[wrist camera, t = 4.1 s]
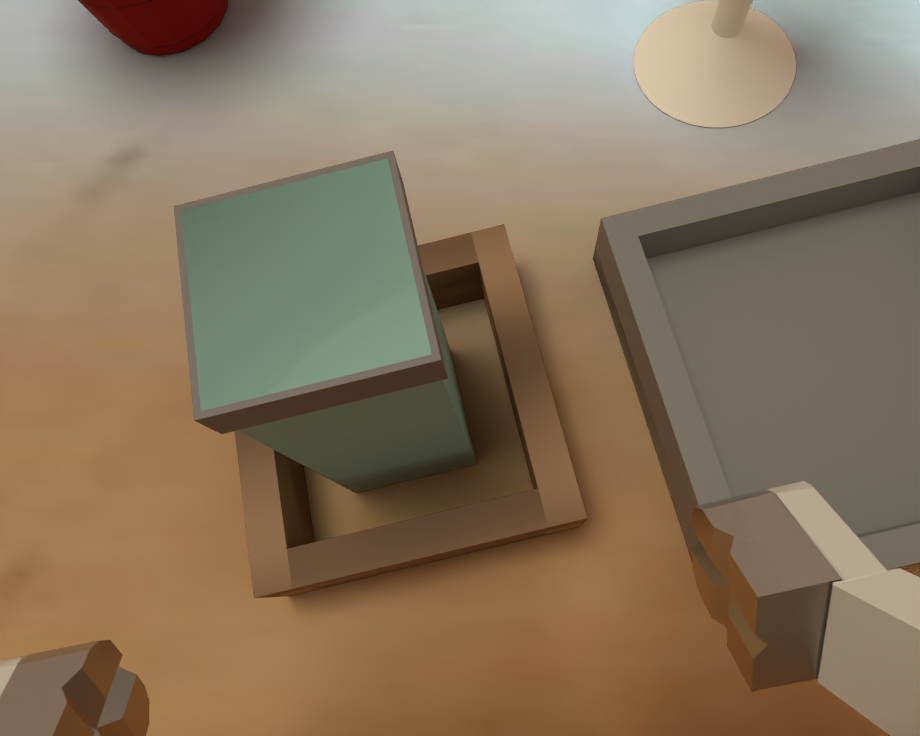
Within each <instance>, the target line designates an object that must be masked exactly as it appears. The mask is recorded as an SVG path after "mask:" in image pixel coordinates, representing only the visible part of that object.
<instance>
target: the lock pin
mask: <svg viewBox="0 0 920 736" xmlns="http://www.w3.org/2000/svg"><path fill="white" fill-rule="evenodd" d="M174 214H175V224H176V235H177V245H178V256H179V266H180V277H181V287H182V298H183V308H184V319H185V329H186V340H187V350H188V361H189V371H190V382H191V392H192V403H193V413H194V421H196V422H198V423H200V424H202V425H204V426H206V427H209V428H211V429H213V430H215V431H217V432H219V433H221V434H224V433H228V432H232V431H236V430H238V431H240V432H242V433H243V434H245V435H247V436H249V437H251V438H253V439H255V440H257V441H259V442H260V443H262V444H264V445H266V446H268V447H270V448H272V449H274V450H276V451H277V452H279V453H281V454H283V455H285V456H287V457H289V458H291V459H293V460H294V461H296V462H298V463H300V464H302V465H304V466H306V467H308V468H310V469H311V470H313V471H315V472H317V473H319V474H321V475H323V476H325V477H327V478H328V479H330V480H332V481H334V482H336V483H338V484H340V485H342V486H344V487H345V488H347V489H349V490H351V491H353V492H355V493H358V492H362V491H366V490H370V489H374V488H378V487H383V486H387V485H391V484H395V483H399V482H403V481H407V480H411V479H416V478H420V477H424V476H428V475H432V474H436V473H440V472H445V471H449V470H453V469H457V468H461V467H465V466H469V465H473V464H477V462H476V458H475V454H474V449H473V445H472V441H471V437H470V432H469V428H468V424H467V420H466V415H465V411H464V407H463V403H462V398H461V394H460V390H459V386H458V381H457V377H456V373H455V369H454V364H453V360H452V356H451V351H450V348H449V345H448V342H447V339H446V336H445V333H444V330H443V326H442V323H441V320H440V317H439V314H438V311H437V308H436V305H435V302H434V299H433V296H432V293H431V290H430V287H429V284H428V281H427V277H426V274H425V271H424V268H423V265H422V262H421V258H420V254H419V250H418V245H417V241H416V237H415V232H414V228H413V224H412V219H411V215H410V211H409V206H408V202H407V198H406V193H405V189H404V185H403V181H402V178H401V175H400V171H399V168H398V165H397V162H396V158H395V155H394V152H393V151H390V152H386V153H382V154H378V155H374V156H370V157H367V158H363V159H359V160H355V161H351V162H347V163H343V164H339V165H335V166H331V167H327V168H323V169H319V170H315V171H311V172H307V173H303V174H299V175H295V176H291V177H287V178H283V179H279V180H275V181H271V182H268V183H264V184H260V185H256V186H252V187H248V188H244V189H240V190H236V191H232V192H228V193H224V194H220V195H216V196H212V197H208V198H204V199H200V200H196V201H192V202H188V203H184V204H180V205H176V206H174Z"/></svg>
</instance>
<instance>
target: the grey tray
mask: <svg viewBox="0 0 920 736" xmlns="http://www.w3.org/2000/svg"><path fill="white" fill-rule="evenodd" d="M593 260H594V263H595V266H596V269H597V272H598V275H599V278H600V281H601V284H602V288H603V291H604V294H605V297H606V300H607V303H608V306H609V309H610V312H611V315H612V318H613V321H614V324H615V327H616V330H617V333H618V336H619V339H620V342H621V346H622V349H623V352H624V355H625V358H626V361H627V364H628V367H629V370H630V373H631V376H632V379H633V382H634V385H635V388H636V391H637V394H638V397H639V400H640V404H641V407H642V410H643V413H644V416H645V419H646V422H647V425H648V428H649V431H650V434H651V437H652V440H653V443H654V446H655V449H656V452H657V455H658V458H659V462H660V465H661V468H662V471H663V474H664V477H665V480H666V483H667V486H668V489H669V492H670V495H671V498H672V501H673V504H674V507H675V510H676V513H677V516H678V520H679V523H680V526H681V529H682V532H683V535H684V538H685V541H686V544H687V547H688V550H689V553H690V556H691V559H692V549H693V548H694V547H695V546H696V544H697V543H698V542H699V539H698V537H697V535H696V534H695V532H694V530H693V528H692V512H693V509H694V506H698V505H702V504H706V503H710V502H715V501H719V500H723V499H727V498H731V497H736V496H740V495H744V494H748V493H753V492H757V491H761V490H764V491H766V490H767V489H771V488H775V487H779V486H784V485H788V484H792V483H797V482H801V481H805V482H807V483H809V484H811V485H812V486H813V487H814V488H815V489H816V490H817V492H818V493H819V494H820V495H821V496H822V497H823V498H824V499H825V501H826V502H827V503H828V504H829V505H830V506H831V507H832V508H833V509H834V511H835V512H836V513H837V514H838V515H839V516H840V517H841V518H842V520H843V521H844V522H845V523H846V524H847V525H848V526H849V527H850V529H851V530H852V531H853V532H854V533H855V534H856V535H857V536H858V538H859V539H860V540H861V541H862V542H863V543H864V544H865V545H866V546H867V548H868V549H869V550H870V551H871V552H872V553H873V554H874V555H875V557H876V558H877V559H878V560H879V561H880V562H881V563H882V564H883V566H884V567H885V568H886V569H887V570H889V569H894V568H898V567H902V566H906V565H911V564H915V563H919V562H920V139H919V140H915V141H911V142H907V143H903V144H899V145H894V146H890V147H886V148H882V149H878V150H874V151H870V152H866V153H862V154H858V155H854V156H850V157H846V158H842V159H838V160H834V161H830V162H826V163H822V164H818V165H814V166H810V167H806V168H802V169H798V170H794V171H790V172H786V173H782V174H778V175H774V176H770V177H766V178H762V179H758V180H754V181H750V182H746V183H742V184H738V185H734V186H730V187H726V188H722V189H718V190H714V191H709V192H705V193H701V194H697V195H693V196H689V197H685V198H681V199H677V200H673V201H669V202H665V203H661V204H657V205H653V206H649V207H645V208H641V209H637V210H633V211H629V212H625V213H621V214H617V215H613V216H609V217H605V218H601V222H600V227H599V232H598V237H597V242H596V247H595V251H594V256H593ZM692 562H693V560H692Z"/></svg>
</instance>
